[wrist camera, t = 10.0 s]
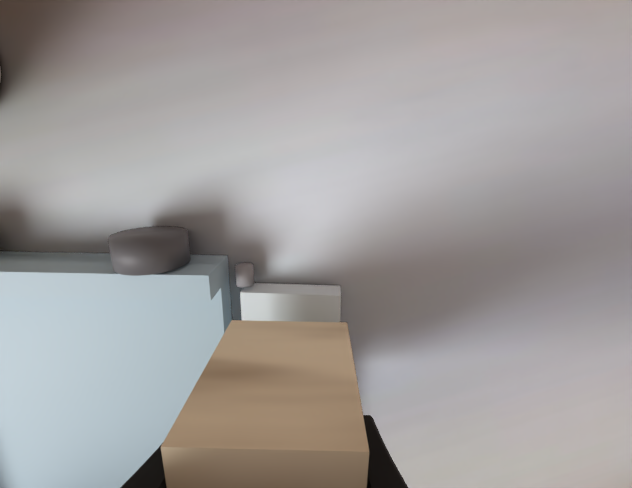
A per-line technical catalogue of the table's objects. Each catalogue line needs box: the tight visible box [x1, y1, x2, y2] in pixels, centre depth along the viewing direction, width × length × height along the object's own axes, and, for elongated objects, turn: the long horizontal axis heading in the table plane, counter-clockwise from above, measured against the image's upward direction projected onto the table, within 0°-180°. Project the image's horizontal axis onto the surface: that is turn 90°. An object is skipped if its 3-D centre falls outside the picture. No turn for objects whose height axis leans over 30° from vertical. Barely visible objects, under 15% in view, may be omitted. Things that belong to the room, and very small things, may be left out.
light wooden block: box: [161, 320, 369, 488], centre depth 11 cm, size 5×5×6 cm
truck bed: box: [0, 226, 254, 488], centre depth 17 cm, size 22×18×3 cm
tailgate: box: [240, 283, 341, 322], centre depth 18 cm, size 16×2×5 cm
